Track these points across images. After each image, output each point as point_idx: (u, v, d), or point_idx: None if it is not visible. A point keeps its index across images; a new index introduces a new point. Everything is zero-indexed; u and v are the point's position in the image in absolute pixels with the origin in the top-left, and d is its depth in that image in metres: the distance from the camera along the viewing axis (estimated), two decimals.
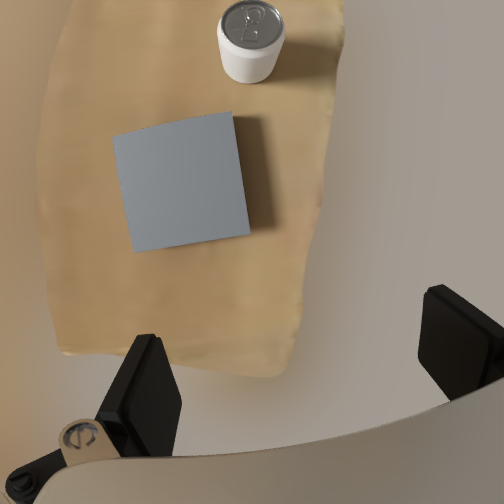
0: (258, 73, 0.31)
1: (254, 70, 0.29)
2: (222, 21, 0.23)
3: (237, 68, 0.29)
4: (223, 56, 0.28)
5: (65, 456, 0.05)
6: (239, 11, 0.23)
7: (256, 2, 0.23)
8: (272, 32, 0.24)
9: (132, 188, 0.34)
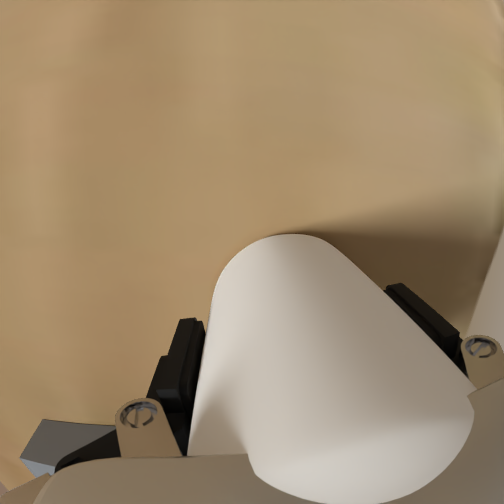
0: None
1: None
2: None
3: None
4: None
5: (125, 435, 0.06)
6: None
7: None
8: None
9: None
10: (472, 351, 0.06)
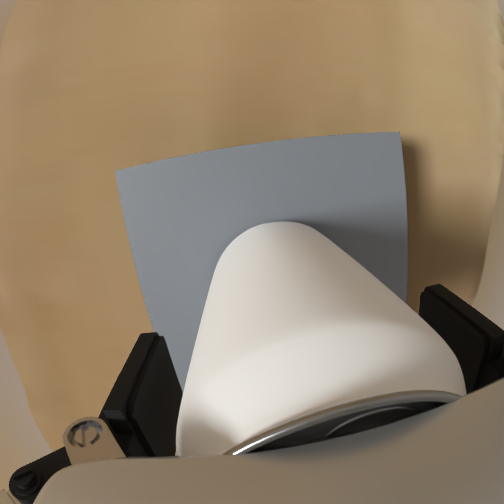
0: None
1: None
2: None
3: None
4: None
5: (70, 454, 0.05)
6: None
7: None
8: None
9: (171, 293, 0.16)
10: None
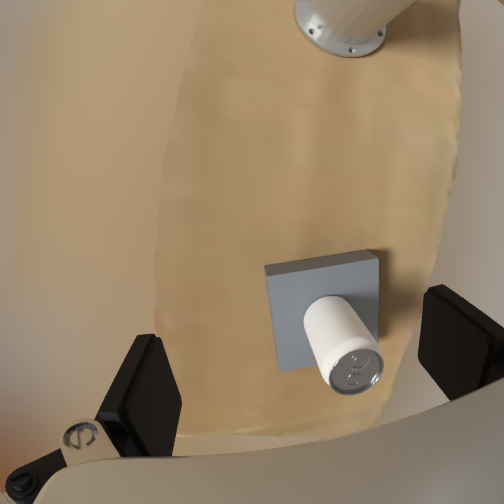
0: None
1: None
2: (330, 373, 0.28)
3: None
4: None
5: (65, 456, 0.05)
6: (346, 361, 0.28)
7: None
8: (371, 375, 0.28)
9: (285, 322, 0.39)
10: None
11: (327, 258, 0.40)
